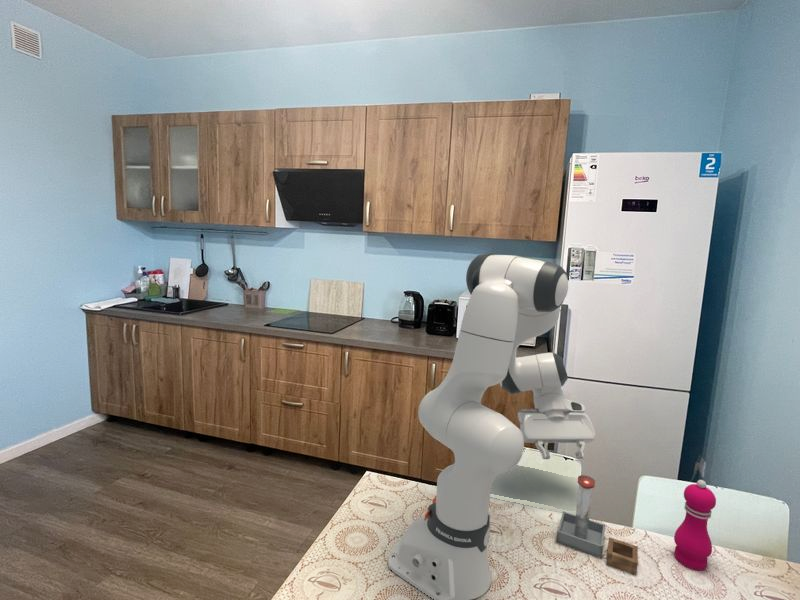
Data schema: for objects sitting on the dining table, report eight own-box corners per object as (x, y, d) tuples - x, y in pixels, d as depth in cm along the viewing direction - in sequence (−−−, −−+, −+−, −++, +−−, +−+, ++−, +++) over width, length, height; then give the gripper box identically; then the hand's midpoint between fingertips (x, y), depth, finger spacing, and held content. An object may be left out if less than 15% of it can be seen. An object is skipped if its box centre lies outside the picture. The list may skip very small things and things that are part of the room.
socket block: (606, 564, 96) (607, 552, 96) (607, 548, 101) (608, 537, 101) (636, 575, 93) (637, 563, 93) (636, 558, 99) (637, 546, 98)
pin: (571, 537, 103) (577, 481, 101) (573, 528, 107) (578, 473, 104) (588, 543, 102) (594, 486, 99) (589, 534, 105) (595, 478, 103)
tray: (556, 542, 103) (557, 531, 102) (561, 521, 111) (562, 511, 110) (601, 558, 98) (603, 547, 98) (604, 535, 106) (605, 524, 105)
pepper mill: (715, 575, 94) (729, 492, 91) (679, 569, 96) (691, 487, 93) (699, 552, 101) (711, 474, 98) (666, 546, 103) (677, 469, 100)
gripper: (519, 404, 119) (529, 455, 110) (590, 405, 120) (605, 455, 112) (513, 413, 124) (522, 462, 116) (580, 413, 125) (594, 461, 117)
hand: (563, 458), depth 114 cm, fingers open, 8 cm apart
